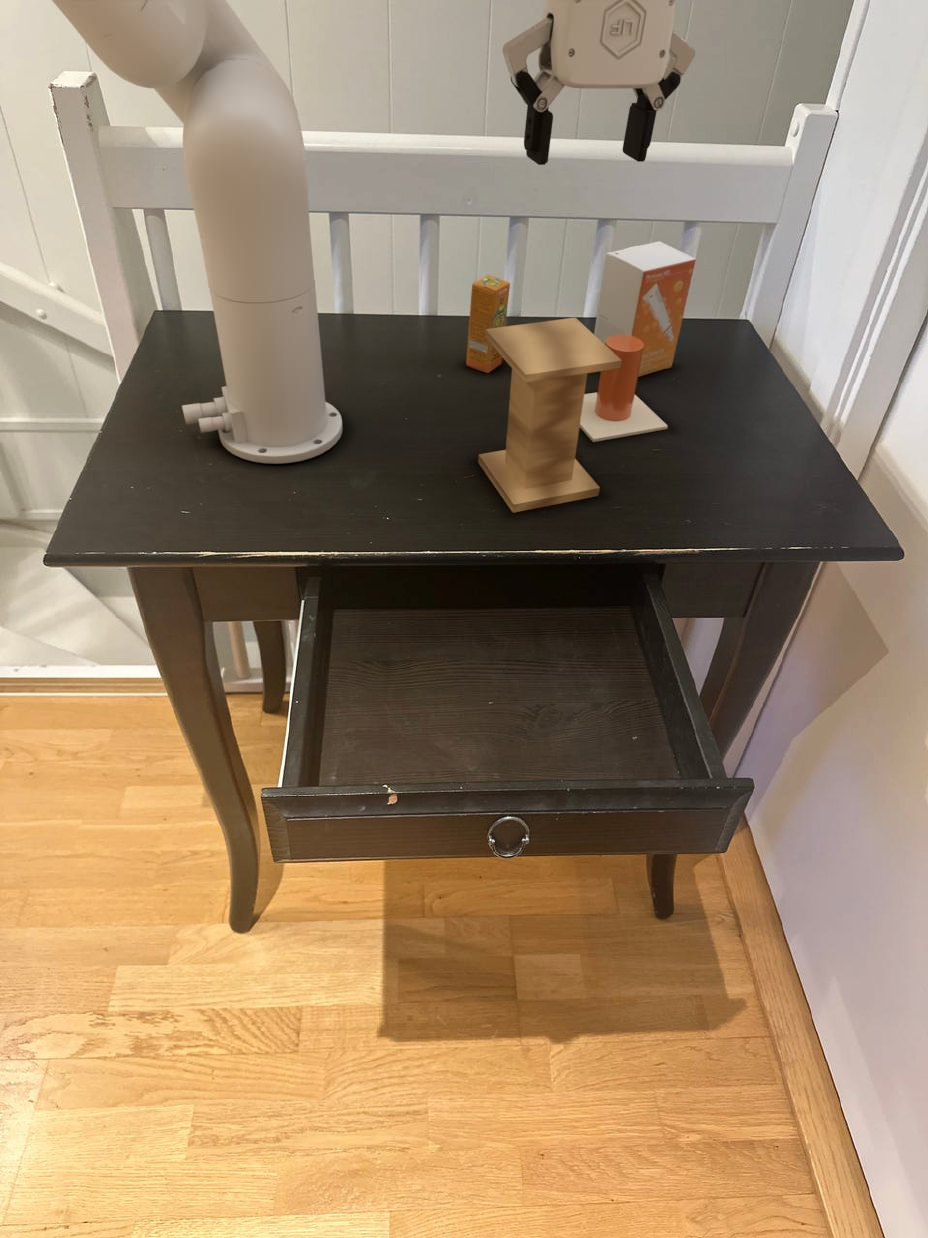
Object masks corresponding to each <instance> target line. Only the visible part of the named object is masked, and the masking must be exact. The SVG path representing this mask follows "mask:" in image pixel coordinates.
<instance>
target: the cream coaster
mask: <svg viewBox="0 0 928 1238" xmlns="http://www.w3.org/2000/svg"><path fill="white" fill-rule="evenodd" d="M596 397H597V392H591V393H584V399H583V406H582V413H581V420H580V427H579V429H580V430H582V431H583V433H584V434H585V435H586V436H587V437H588V438H589V440H590V441H592V443H597V442H602V441H608V440H613V439H620V438H624V437H630V436H635V435H640V434H641V435H642V434H647V433H654V432H657V431H664V430H668V428H669V426H668V424H667V423H666V422H665V421H663V420H662V419H661V418H660V417H659V416H658V415H657V414H656V413H655V412H654V411H653V410H652V409H651V408H650V407H649V406H648V405H647V404H646V403H645V402H644V401H643V400H641V399H640V398H639V397H638V396H637V395H636V394H635V395H634V401H633V406H632V411H631V415H630V417H629V418H628V419H626V420H623V421H609V420H605V419H603V418H600V417H599V416H598V415H596V413H595V403H596Z"/></svg>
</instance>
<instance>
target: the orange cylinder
mask: <svg viewBox="0 0 928 1238" xmlns="http://www.w3.org/2000/svg"><path fill="white" fill-rule="evenodd" d="M605 345H606V346H607V347H608V348H609V349H610V350H611V351H612V352H613V353H614V354H615V355H617V356H618V357H619V358H620V359H621V367H620V368H619V369H612V370H606V371H599V379H598V384H597V397H596V403H595V413H596V415H598V416H599V417H600V418H603V419H605V420H609V421H623V420H626V419H628V418H629V417H630V415H631V411H632V406H633V401H634V395H636V389H637V384H638V379H639V377H638V374H639V369H640V364H641V359H642V353H643V348H644V343H643V342H642V341H641V340H640V339H638V338H636V337H634V336H630V335H612V336H610V337H608V338H607V339H606V340H605Z"/></svg>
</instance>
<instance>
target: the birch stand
mask: <svg viewBox="0 0 928 1238" xmlns="http://www.w3.org/2000/svg"><path fill="white" fill-rule="evenodd" d="M485 338H486V339H487V340H488V341H489V342H490V343H491V344H492V346H493V347H494V348H495V349H496V350H497V351H498V353H499V354H500V355H501V356H502V359H503V360H505V361H504V362H506V363H507V364H508V365H509V367H510V368H511V379H510V391H509V404H508V415H507V416H508V417H507V428H506V441H505V449H503V450H498V451H491V452H485V453H479V454H478V458H477V459H478V461H477V462H478V465H479V466H480V468H481V470H483V472H484V473H485V475H486V476H487V478H488V480H489V481H490V482H491V483H492V485H493V486H494V488H495V489H496V490H497V492H498V494H499V495H500V496H501V498H502V499H503V501H504V502H505V504H506V505H507V507H508V508H509V509H510V511H511V513H513V514H514V513H515V514H516V513H518V512H520V513H521V512H524V511H529V510H534V509H540V508H544V507H550V506H554V505H555V506H556V505H560V504H565V503H570V502H575V501H581V500H585V499H590V498H595V497H599V496H600V495H599V494H600V487H601V486H599V485H598V484H597V482H596V481H595V480H594V479H593V477H591V475H590V474H589V473H588V472H587V470H586V469H585V468H584V467H583V466H582V465H581V464H580V462H579V461H578V460H577V459H576V455H577V454H576V453H577V448H578V447H577V446H578V441H579V433H580V420H581V413H582V406H583V399H584V394H586V393H585V391H586V386H587V377H588V374H592V373H597V372H598V373H600V371H606V370H612V369H619V368H620V367H621V359H620V358H619V357H618V356H617V355H615V354H614V353H613V352H612V351H611V350H610V349H609V348H608V347H607V346H606V345H605V344H604V343H602V342H601V341H600V340H599V339H598V338H597V337H596V336H595V335H594V332H592V331H591V330H590V329H589V328H587V327H586V326H585V325H584V324H583V323H582V322H581V321H580V320H579V319H578V318H577V317H569V318H562V319H561V318H560V319H554V320H544V321H538V322H530V323H525V324H524V323H523V324H515V325H507V326H505V327H499V328H491V329H486V330H485Z"/></svg>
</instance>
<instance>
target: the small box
mask: <svg viewBox="0 0 928 1238" xmlns="http://www.w3.org/2000/svg"><path fill="white" fill-rule="evenodd" d="M696 261H697V259H696V258H695V257H693V256H691V255H689V254H687V253H684V252H682V251H680V250H678V249H676V248H674V247H672V246H670V245H668V244H666V243H664V242H662V241H660V240H659V241H654V242H650V243H645V244H640V245H639V244H638V245H634V246H629V247H626V248H623V249H619V250H614V251H609V252H606V254H605V259H604V265H603V271H602V272H603V273H602V278H601V279H602V280H601V286H600V292H599V297H598V298H599V299H598V306H597V312H596V317H595V318H596V319H595V324H594V325H595V326H594V332H593V334H594V335H595V336H596V337H597V338H598V339H599V340H600V341H601V342H602V343H604V344H605V340H606V339H607V338H608V337H610V336H612V335H630V336H634V337H636V338H638V339H640V340H641V341H642V342H643V343H644V348H643V353H642V359H641V364H640V369H639V374H638V378H639V377H644V376H646V375H649V374H652V373H655V372H659V371H662V370H666V369H667V370H668V369H670V368H672V366H673V362H674V358H675V354H676V349H677V344H678V340H679V336H680V333H681V332H680V331H681V327H682V323H683V318H684V314H685V310H686V304H687V302H688V301H687V300H688V297H689V296H688V295H689V293H690V292H689V291H690V289H691V283H692V279H693V274H694V270H695V265H696Z"/></svg>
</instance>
